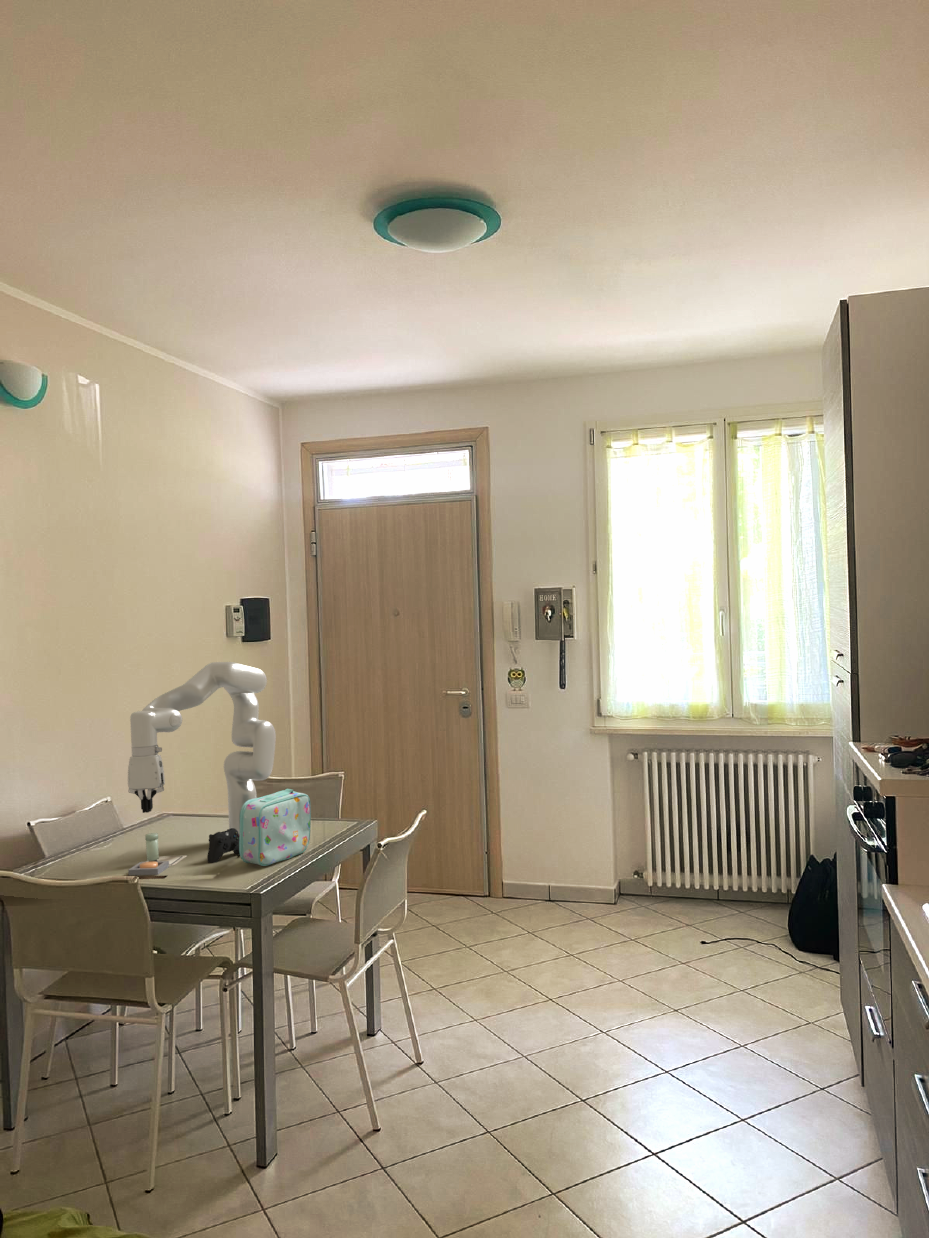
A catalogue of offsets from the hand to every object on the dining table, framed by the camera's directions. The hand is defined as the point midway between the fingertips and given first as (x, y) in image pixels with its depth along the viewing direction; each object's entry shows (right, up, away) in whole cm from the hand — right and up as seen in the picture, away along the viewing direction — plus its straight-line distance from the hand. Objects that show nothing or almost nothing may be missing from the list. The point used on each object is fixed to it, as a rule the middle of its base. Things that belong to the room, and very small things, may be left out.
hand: (147, 811), depth 286 cm
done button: (+1, -18, 0) cm, 18 cm away
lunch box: (+37, -18, +13) cm, 43 cm away
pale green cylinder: (-1, -18, +9) cm, 20 cm away
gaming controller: (+21, -19, +13) cm, 31 cm away
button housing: (+1, -19, 0) cm, 19 cm away
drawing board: (+1, -19, +7) cm, 20 cm away
